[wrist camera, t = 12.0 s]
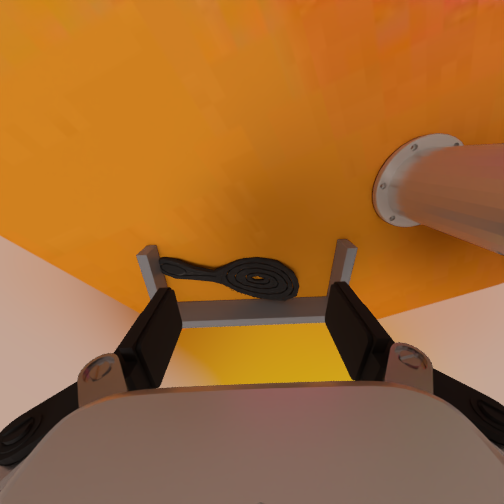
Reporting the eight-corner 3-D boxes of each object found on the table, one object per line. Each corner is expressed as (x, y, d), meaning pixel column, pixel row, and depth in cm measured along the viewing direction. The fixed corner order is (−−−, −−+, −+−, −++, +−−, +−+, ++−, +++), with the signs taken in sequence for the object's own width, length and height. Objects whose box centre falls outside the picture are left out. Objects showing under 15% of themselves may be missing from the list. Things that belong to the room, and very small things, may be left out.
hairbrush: (147, 247, 29) (307, 274, 30) (158, 238, 32) (302, 263, 34) (149, 290, 33) (292, 313, 34) (159, 278, 36) (289, 299, 37)
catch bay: (346, 239, 32) (363, 252, 28) (333, 302, 38) (344, 321, 34) (147, 245, 31) (130, 260, 27) (165, 308, 37) (154, 329, 33)
